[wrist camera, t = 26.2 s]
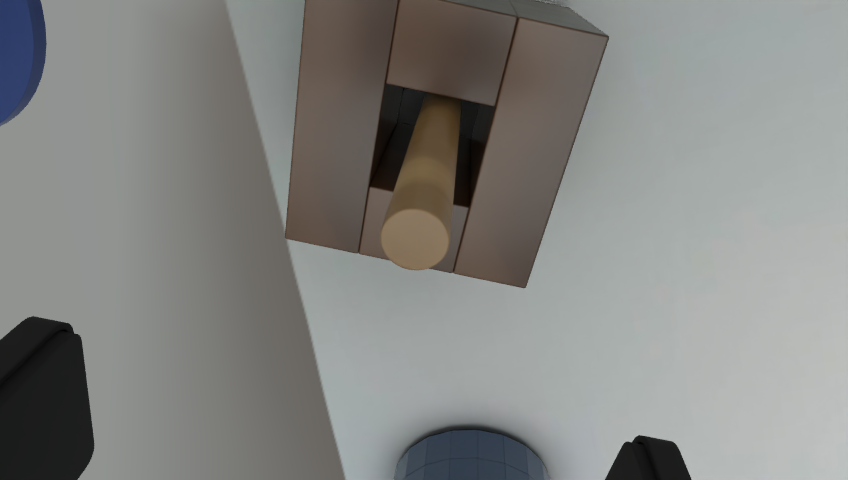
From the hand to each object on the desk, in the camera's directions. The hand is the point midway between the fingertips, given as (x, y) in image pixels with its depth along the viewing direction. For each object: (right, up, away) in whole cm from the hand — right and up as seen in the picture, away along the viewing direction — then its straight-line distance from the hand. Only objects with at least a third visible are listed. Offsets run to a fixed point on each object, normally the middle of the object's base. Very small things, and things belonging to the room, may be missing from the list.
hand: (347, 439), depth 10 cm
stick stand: (+2, +12, +23) cm, 26 cm away
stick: (+3, +13, +22) cm, 26 cm away
